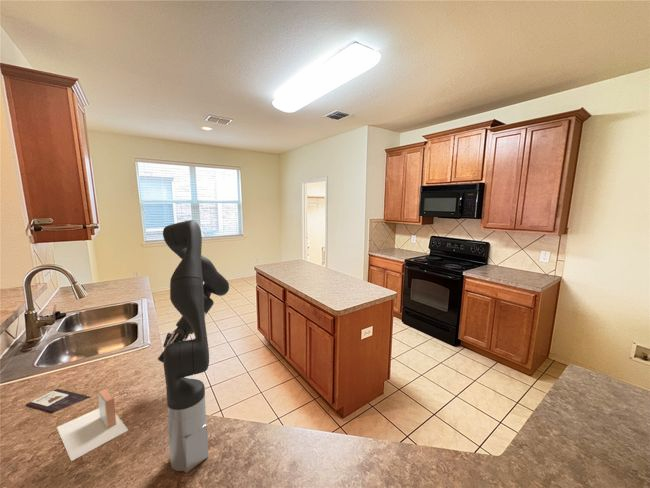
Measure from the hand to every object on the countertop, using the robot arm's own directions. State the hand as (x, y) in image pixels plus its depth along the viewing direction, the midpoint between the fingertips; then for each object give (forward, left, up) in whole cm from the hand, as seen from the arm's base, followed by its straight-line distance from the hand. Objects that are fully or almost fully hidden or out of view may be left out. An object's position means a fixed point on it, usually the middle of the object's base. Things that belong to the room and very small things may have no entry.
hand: (160, 361), depth 97 cm
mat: (0, +20, -14) cm, 25 cm away
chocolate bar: (+28, +24, -15) cm, 39 cm away
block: (0, +16, -13) cm, 21 cm away
